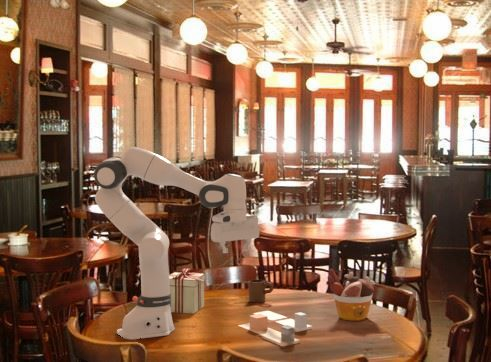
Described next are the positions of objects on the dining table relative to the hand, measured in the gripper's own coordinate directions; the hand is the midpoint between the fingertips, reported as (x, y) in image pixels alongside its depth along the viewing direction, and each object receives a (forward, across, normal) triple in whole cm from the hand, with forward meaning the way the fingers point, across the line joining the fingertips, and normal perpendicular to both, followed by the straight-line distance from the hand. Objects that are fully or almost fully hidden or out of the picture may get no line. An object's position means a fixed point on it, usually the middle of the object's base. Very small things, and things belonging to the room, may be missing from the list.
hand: (235, 251), depth 259 cm
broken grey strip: (+31, -21, 0) cm, 38 cm away
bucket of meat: (+31, -49, +11) cm, 59 cm away
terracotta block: (+30, -6, +6) cm, 31 cm away
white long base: (+31, -6, +12) cm, 34 cm away
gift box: (+31, -1, -43) cm, 53 cm away
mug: (+31, -35, -35) cm, 59 cm away
